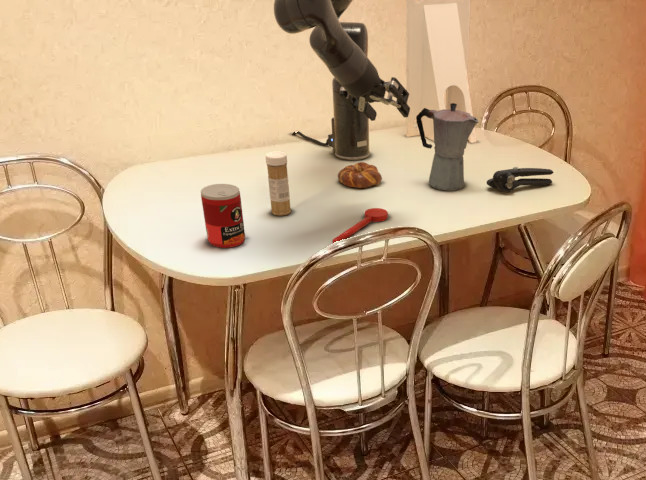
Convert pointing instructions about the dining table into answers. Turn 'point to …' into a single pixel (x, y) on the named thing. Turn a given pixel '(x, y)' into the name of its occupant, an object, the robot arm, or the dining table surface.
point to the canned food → (223, 215)
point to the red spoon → (364, 222)
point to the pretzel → (359, 175)
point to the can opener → (507, 181)
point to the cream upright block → (437, 60)
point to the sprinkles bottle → (278, 182)
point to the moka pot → (448, 145)
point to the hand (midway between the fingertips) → (390, 115)
